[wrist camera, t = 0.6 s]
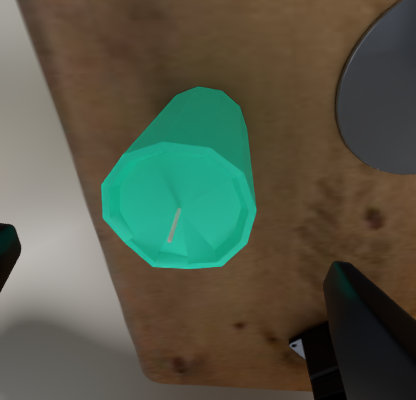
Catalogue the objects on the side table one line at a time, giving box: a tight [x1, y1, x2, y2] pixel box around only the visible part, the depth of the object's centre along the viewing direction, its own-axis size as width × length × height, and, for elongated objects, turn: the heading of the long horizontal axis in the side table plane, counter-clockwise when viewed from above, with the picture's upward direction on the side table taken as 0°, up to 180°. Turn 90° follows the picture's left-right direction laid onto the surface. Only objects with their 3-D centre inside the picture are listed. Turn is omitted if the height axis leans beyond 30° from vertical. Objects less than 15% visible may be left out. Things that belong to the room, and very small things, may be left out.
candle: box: [101, 86, 257, 269], centre depth 15 cm, size 6×6×12 cm
